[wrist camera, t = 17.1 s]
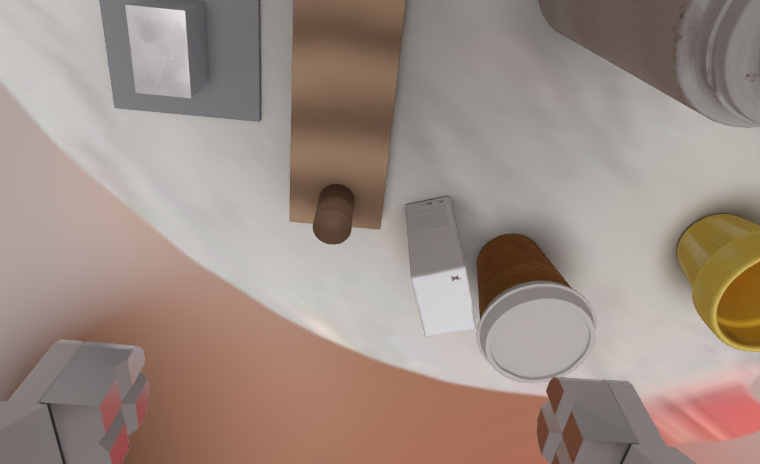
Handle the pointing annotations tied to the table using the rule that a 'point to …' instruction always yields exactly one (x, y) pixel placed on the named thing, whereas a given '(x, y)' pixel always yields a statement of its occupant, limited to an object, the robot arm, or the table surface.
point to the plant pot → (725, 277)
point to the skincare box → (438, 268)
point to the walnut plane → (342, 112)
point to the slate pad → (226, 63)
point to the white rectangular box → (168, 46)
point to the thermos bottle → (676, 48)
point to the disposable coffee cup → (530, 313)
